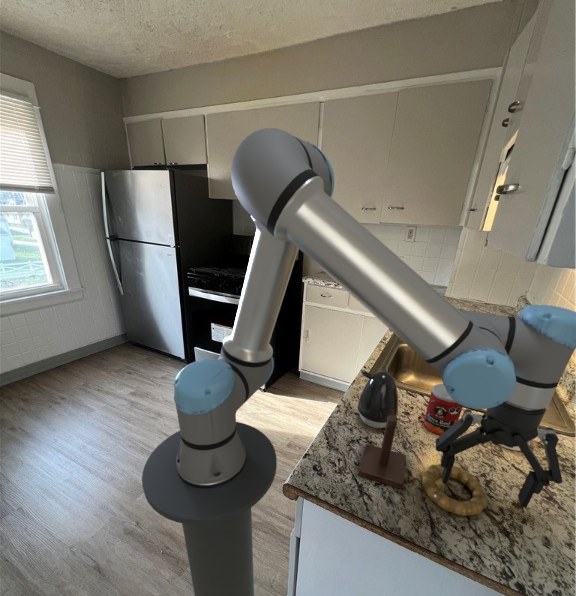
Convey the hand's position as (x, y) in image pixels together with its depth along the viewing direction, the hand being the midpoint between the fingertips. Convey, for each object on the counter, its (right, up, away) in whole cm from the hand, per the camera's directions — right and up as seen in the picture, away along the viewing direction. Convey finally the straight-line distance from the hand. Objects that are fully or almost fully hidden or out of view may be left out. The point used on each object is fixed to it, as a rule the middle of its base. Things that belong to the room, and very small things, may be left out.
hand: (481, 489), depth 61 cm
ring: (-4, -1, +2) cm, 5 cm away
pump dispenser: (-15, +8, +23) cm, 29 cm away
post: (-17, +1, +8) cm, 19 cm away
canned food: (+2, +7, +22) cm, 23 cm away
